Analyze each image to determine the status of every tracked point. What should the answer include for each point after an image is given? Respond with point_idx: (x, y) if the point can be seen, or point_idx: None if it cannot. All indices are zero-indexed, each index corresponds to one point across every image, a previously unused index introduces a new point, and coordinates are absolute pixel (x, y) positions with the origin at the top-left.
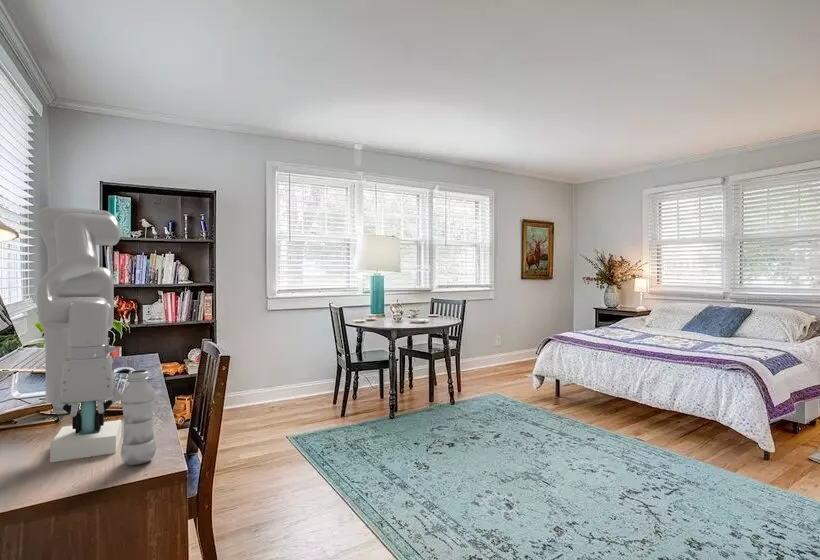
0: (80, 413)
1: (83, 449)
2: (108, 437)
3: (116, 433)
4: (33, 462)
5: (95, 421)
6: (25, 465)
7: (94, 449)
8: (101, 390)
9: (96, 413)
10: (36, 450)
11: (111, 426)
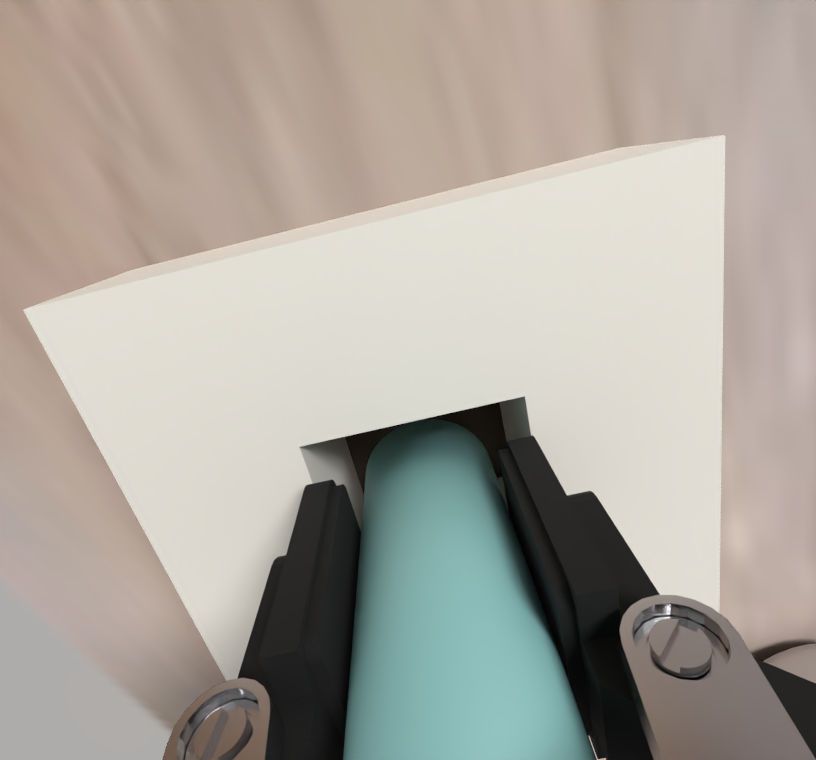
0: (307, 662)
1: None
2: None
3: (717, 609)
4: (179, 599)
5: None
6: (162, 630)
7: None
8: None
9: (578, 698)
10: (24, 400)
11: (636, 406)
